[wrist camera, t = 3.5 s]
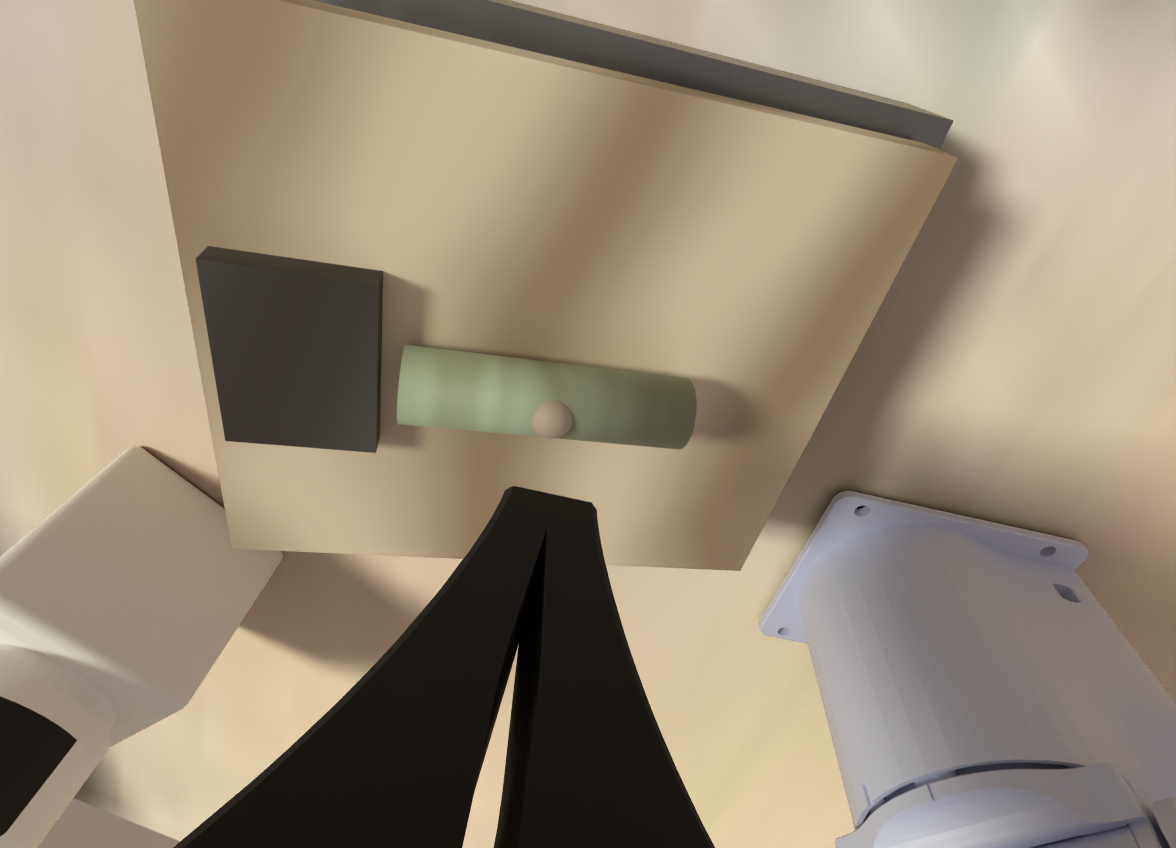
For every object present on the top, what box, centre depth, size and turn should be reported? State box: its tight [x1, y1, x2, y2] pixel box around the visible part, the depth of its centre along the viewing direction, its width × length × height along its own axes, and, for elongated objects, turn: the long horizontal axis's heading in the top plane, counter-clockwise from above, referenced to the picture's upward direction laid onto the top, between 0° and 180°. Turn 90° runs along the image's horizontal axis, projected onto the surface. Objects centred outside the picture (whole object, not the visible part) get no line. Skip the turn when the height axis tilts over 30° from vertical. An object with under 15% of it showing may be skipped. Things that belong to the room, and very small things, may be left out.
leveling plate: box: [134, 0, 959, 571], centre depth 13 cm, size 14×12×3 cm
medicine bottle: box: [0, 446, 283, 848], centre depth 21 cm, size 7×7×12 cm
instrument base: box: [313, 0, 953, 149], centre depth 17 cm, size 15×13×3 cm
